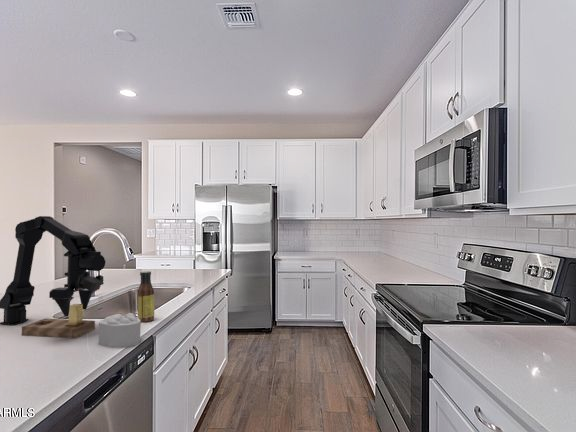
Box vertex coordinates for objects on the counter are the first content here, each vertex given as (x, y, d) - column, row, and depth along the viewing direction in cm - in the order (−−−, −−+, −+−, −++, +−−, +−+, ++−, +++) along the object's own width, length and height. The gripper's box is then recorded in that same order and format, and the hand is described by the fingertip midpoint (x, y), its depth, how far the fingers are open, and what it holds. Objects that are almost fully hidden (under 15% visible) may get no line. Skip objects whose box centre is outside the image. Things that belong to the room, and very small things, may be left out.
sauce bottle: (157, 318, 142) (158, 270, 142) (149, 323, 135) (150, 273, 136) (142, 317, 142) (143, 270, 142) (133, 322, 136) (135, 272, 136)
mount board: (21, 335, 119) (21, 326, 119) (44, 326, 129) (44, 318, 129) (75, 338, 117) (76, 329, 117) (94, 328, 127) (94, 320, 127)
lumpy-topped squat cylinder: (118, 334, 122) (119, 310, 122) (148, 339, 117) (148, 314, 117) (93, 344, 112) (94, 317, 112) (124, 350, 107) (125, 322, 108)
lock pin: (68, 334, 121) (69, 305, 121) (74, 331, 124) (74, 303, 124) (76, 334, 121) (77, 306, 121) (81, 331, 124) (82, 304, 124)
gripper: (80, 274, 113) (79, 321, 112) (113, 266, 131) (112, 307, 131) (48, 272, 113) (47, 319, 113) (86, 265, 132) (85, 306, 132)
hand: (75, 312), depth 122 cm, fingers open, 9 cm apart
